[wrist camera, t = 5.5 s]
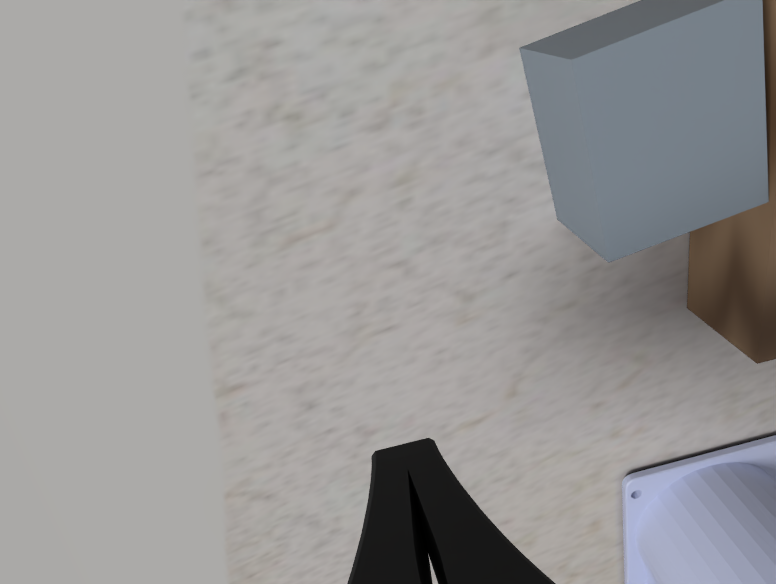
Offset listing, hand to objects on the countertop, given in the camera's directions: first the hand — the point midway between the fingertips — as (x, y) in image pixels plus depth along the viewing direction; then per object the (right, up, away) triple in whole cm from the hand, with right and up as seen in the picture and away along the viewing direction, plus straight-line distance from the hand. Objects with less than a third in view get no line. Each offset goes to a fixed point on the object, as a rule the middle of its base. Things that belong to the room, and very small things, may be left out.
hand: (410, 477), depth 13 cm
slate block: (+7, +10, +6) cm, 14 cm away
